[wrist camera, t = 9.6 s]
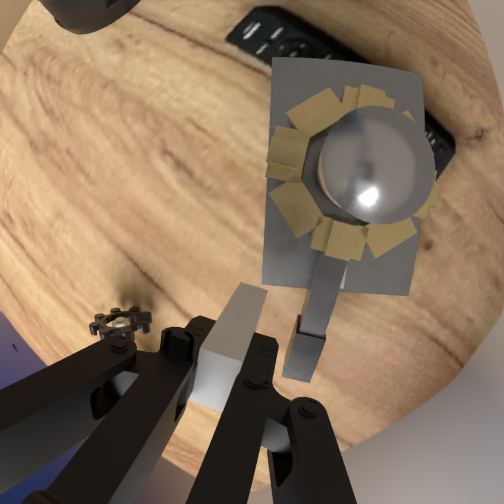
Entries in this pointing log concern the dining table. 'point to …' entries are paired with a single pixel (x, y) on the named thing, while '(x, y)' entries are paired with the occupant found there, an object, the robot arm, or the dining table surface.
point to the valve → (121, 323)
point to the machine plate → (277, 231)
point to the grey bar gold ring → (325, 218)
